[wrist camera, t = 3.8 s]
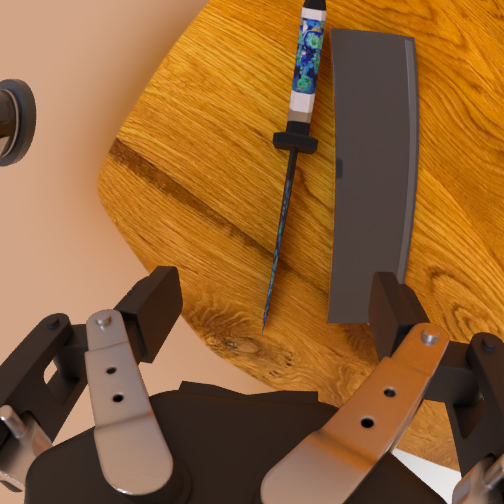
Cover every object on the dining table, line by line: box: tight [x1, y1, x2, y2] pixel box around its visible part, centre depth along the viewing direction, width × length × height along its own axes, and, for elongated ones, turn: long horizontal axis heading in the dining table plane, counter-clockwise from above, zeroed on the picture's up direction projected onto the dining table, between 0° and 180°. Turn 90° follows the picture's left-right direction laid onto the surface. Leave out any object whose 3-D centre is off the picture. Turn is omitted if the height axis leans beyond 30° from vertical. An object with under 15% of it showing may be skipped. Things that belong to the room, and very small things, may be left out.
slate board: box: [326, 28, 419, 323], centre depth 24 cm, size 7×26×2 cm, turn 3°
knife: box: [262, 0, 327, 333], centre depth 24 cm, size 30×3×4 cm, turn 169°
